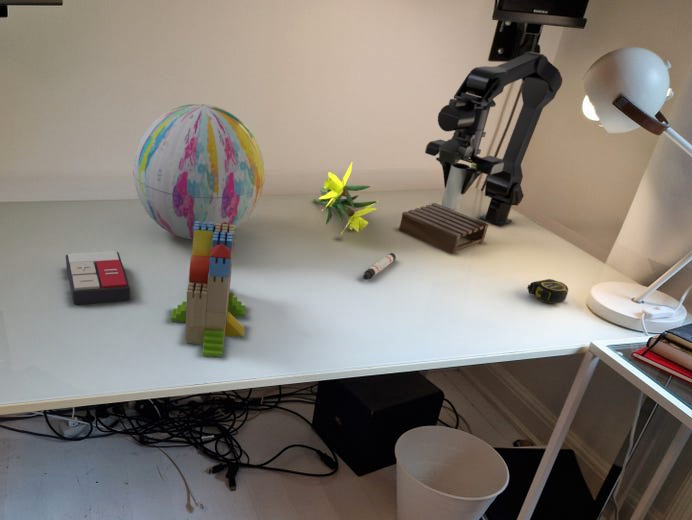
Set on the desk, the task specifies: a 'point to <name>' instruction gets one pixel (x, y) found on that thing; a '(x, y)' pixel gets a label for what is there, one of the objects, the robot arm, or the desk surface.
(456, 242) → the rack
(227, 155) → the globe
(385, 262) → the marker
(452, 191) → the grey hollow cylinder
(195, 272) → the block set
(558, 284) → the tape measure
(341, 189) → the daffodil flowers
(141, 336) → the desk surface
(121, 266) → the calculator
